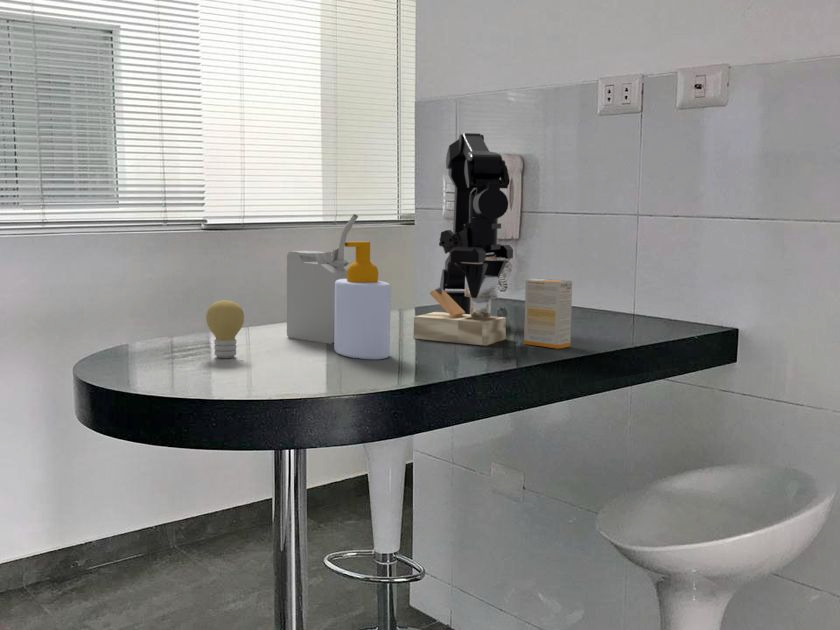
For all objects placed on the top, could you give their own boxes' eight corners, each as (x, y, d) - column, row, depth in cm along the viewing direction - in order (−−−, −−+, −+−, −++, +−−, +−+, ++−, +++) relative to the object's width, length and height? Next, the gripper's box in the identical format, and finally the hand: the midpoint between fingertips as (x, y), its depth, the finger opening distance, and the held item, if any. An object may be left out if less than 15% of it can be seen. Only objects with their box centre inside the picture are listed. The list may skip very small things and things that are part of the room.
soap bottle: (323, 351, 164) (323, 240, 161) (360, 347, 169) (361, 240, 166) (363, 362, 153) (364, 244, 151) (401, 357, 158) (403, 243, 156)
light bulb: (225, 361, 151) (225, 303, 149) (198, 357, 154) (198, 300, 153) (251, 356, 156) (251, 300, 155) (225, 353, 159) (224, 297, 158)
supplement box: (571, 347, 174) (574, 280, 172) (557, 349, 171) (560, 281, 169) (536, 341, 180) (539, 277, 178) (522, 344, 176) (524, 278, 174)
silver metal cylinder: (472, 313, 183) (473, 274, 182) (501, 315, 180) (503, 276, 179) (458, 316, 178) (459, 276, 177) (489, 319, 175) (490, 278, 174)
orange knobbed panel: (463, 315, 183) (467, 309, 183) (452, 317, 179) (457, 311, 178) (438, 290, 185) (443, 284, 185) (428, 292, 181) (432, 286, 180)
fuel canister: (360, 342, 174) (361, 214, 171) (343, 345, 170) (344, 214, 167) (304, 334, 183) (304, 212, 180) (286, 337, 179) (286, 212, 176)
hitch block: (435, 332, 190) (435, 311, 189) (505, 339, 182) (506, 317, 182) (413, 338, 181) (413, 316, 180) (486, 345, 173) (486, 322, 173)
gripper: (465, 216, 188) (464, 290, 190) (425, 217, 172) (424, 297, 174) (515, 218, 183) (512, 293, 185) (478, 219, 167) (476, 301, 169)
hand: (481, 296), depth 178 cm, fingers closed on silver metal cylinder, 7 cm apart
